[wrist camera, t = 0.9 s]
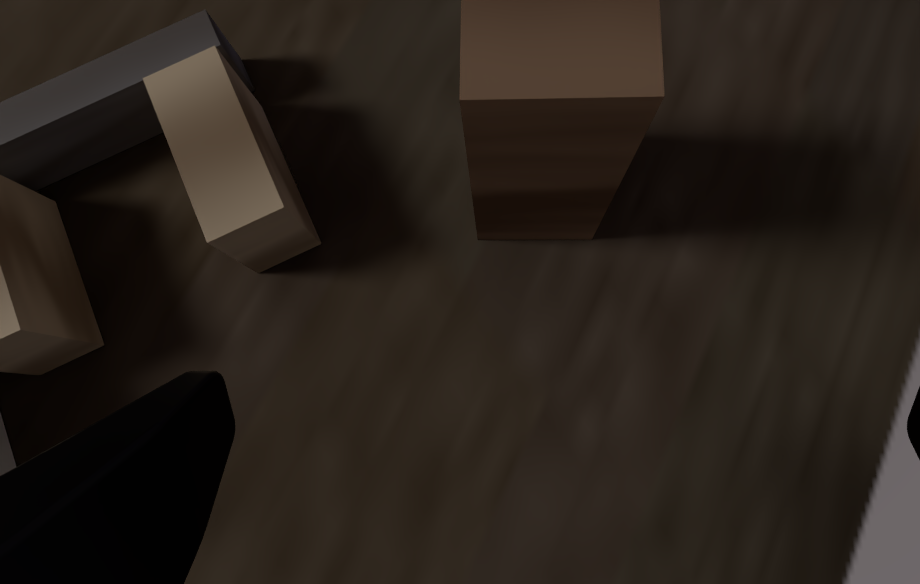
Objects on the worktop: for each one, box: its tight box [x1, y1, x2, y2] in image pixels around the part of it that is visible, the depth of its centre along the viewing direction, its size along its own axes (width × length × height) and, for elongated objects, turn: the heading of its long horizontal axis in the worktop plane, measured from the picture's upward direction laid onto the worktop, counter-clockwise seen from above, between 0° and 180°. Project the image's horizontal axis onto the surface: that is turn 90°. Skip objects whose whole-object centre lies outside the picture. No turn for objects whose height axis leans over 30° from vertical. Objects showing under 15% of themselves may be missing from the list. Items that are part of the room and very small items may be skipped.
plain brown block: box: [460, 0, 664, 240], centre depth 18 cm, size 4×4×10 cm
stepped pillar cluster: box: [0, 10, 322, 476], centre depth 20 cm, size 14×14×6 cm
